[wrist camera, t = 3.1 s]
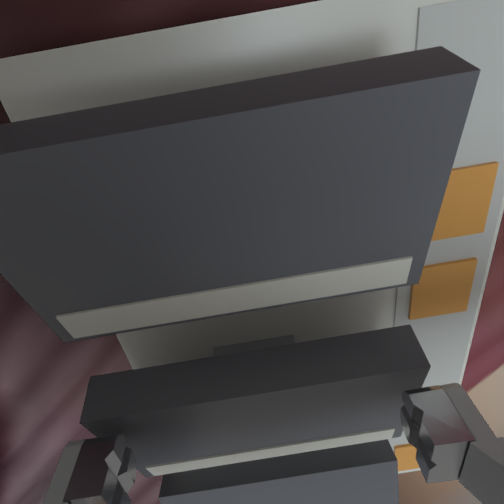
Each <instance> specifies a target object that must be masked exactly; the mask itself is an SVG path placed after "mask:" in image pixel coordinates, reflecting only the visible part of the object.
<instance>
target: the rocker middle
mask: <svg viewBox="0 0 504 504" xmlns="http://www.w3.org/2000/svg"><path fill="white" fill-rule="evenodd" d="M430 367H431V365H430V363H429V361H428V359H427V357H426V355H425V353H424V351H423V349H422V347H421V345H420V343H419V341H418V339H417V337H416V335H415V333H414V331H413V329H412V327H411V325H410V324H409V325H403V326H397V327H391V328H385V329H379V330H373V331H366V332H360V333H354V334H348V335H342V336H336V337H330V338H324V339H318V340H311V341H305V342H299V343H293V344H287V345H281V346H275V347H269V348H263V349H256V350H250V351H244V352H238V353H232V354H226V355H220V356H214V357H208V358H201V359H195V360H189V361H183V362H177V363H171V364H165V365H159V366H153V367H146V368H140V369H134V370H128V371H122V372H116V373H110V374H104V375H98V376H91V377H90V380H89V384H88V389H87V393H86V397H85V402H84V406H83V410H82V415H81V419H80V424H82V425H83V426H84V427H85V428H86V429H88V430H89V431H90V432H91V433H93V434H94V435H95V436H96V437H98V438H99V437H106V436H113V435H120V434H123V436H124V437H125V439H126V440H127V441H126V447H128V448H131V449H132V450H133V452H134V454H135V459H136V469H137V470H138V471H139V472H141V473H142V474H143V475H144V476H145V477H149V476H157V475H163V474H170V473H176V472H183V471H189V470H195V469H202V468H208V467H214V466H221V465H227V464H233V463H240V462H246V461H252V460H259V459H265V458H271V457H278V456H284V455H290V454H297V453H303V452H309V451H316V450H322V449H328V448H335V447H341V446H347V445H354V444H360V443H366V442H373V441H379V440H385V439H391V438H396V437H401V434H402V432H403V427H402V424H401V418H400V409H401V407H402V406H403V405H404V403H403V401H402V393H403V392H404V391H406V390H412V389H418V388H422V386H423V384H424V381H425V379H426V377H427V374H428V372H429V370H430Z"/></svg>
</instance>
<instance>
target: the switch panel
mask: <svg viewBox="0 0 504 504" xmlns="http://www.w3.org/2000/svg"><path fill="white" fill-rule="evenodd" d="M438 46H442V47H444V48H446V49H447V50H449V51H451V52H452V53H454V54H456V55H457V56H459V57H461V58H462V59H464V60H466V61H467V62H469V63H471V64H472V65H474V66H476V67H477V68H479V69H481V71H480V74H479V78H478V81H477V84H476V88H475V91H474V95H473V98H472V102H471V105H470V108H469V112H468V115H467V119H466V122H465V126H464V129H463V133H462V136H461V139H460V143H459V146H458V150H457V153H456V157H455V160H454V164H453V167H452V170H451V174H450V177H449V181H448V184H447V188H446V191H445V195H444V198H443V201H442V205H441V208H440V212H439V215H438V219H437V222H436V226H435V229H434V232H433V236H432V239H431V243H430V246H429V250H428V253H427V257H426V260H425V263H424V267H423V270H422V274H421V277H420V281H419V284H415V285H409V286H403V287H397V288H391V289H385V290H379V291H373V292H366V293H360V294H354V295H348V296H342V297H336V298H330V299H324V300H318V301H312V302H306V303H300V304H294V305H288V306H282V307H276V308H270V309H264V310H258V311H252V312H246V313H240V314H234V315H228V316H222V317H216V318H210V319H204V320H198V321H191V322H185V323H179V324H173V325H167V326H161V327H155V328H149V329H143V330H137V331H131V332H125V333H119V334H116V336H117V338H118V340H119V342H120V344H121V346H122V348H123V350H124V352H125V354H126V356H127V358H128V361H129V363H130V365H131V367H132V369H133V370H134V369H140V368H146V367H153V366H159V365H165V364H171V363H177V362H183V361H189V360H195V359H201V358H208V357H214V356H220V355H226V354H232V353H238V352H244V351H250V350H256V349H263V348H269V347H275V346H281V345H287V344H293V343H299V342H305V341H311V340H318V339H324V338H330V337H336V336H342V335H348V334H354V333H360V332H366V331H373V330H379V329H385V328H391V327H397V326H403V325H409V324H410V325H411V327H412V329H413V331H414V333H415V335H416V337H417V339H418V341H419V343H420V345H421V347H422V349H423V351H424V353H425V355H426V357H427V359H428V361H429V363H430V365H431V367H430V370H429V372H428V374H427V377H426V379H425V381H424V384H423V386H422V388H424V387H429V386H435V385H444V384H450V383H459V384H460V385H461V383H462V379H463V375H464V371H465V366H466V362H467V358H468V354H469V350H470V346H471V342H472V338H473V334H474V329H475V325H476V321H477V317H478V313H479V309H480V305H481V301H482V297H483V293H484V288H485V284H486V280H487V276H488V272H489V268H490V264H491V260H492V256H493V252H494V247H495V243H496V239H497V235H498V231H499V227H500V223H501V219H502V215H503V211H504V0H320V1H315V2H309V3H304V4H298V5H293V6H287V7H282V8H276V9H271V10H265V11H260V12H254V13H249V14H243V15H238V16H232V17H227V18H221V19H216V20H210V21H205V22H199V23H194V24H188V25H182V26H177V27H171V28H166V29H160V30H155V31H149V32H144V33H138V34H133V35H127V36H122V37H116V38H111V39H105V40H100V41H94V42H89V43H83V44H78V45H72V46H67V47H61V48H56V49H50V50H45V51H39V52H34V53H28V54H23V55H17V56H12V57H6V58H1V59H0V101H1V103H2V105H3V107H4V109H5V111H6V113H7V115H8V117H9V119H10V121H11V122H17V121H22V120H28V119H33V118H39V117H45V116H50V115H56V114H62V113H67V112H73V111H78V110H84V109H90V108H95V107H101V106H106V105H112V104H118V103H123V102H129V101H135V100H140V99H146V98H151V97H157V96H163V95H168V94H174V93H180V92H185V91H191V90H196V89H202V88H208V87H213V86H219V85H224V84H230V83H236V82H241V81H247V80H253V79H258V78H264V77H269V76H275V75H281V74H286V73H292V72H297V71H303V70H309V69H314V68H320V67H326V66H331V65H337V64H342V63H348V62H354V61H359V60H365V59H370V58H376V57H382V56H387V55H393V54H399V53H404V52H410V51H415V50H421V49H427V48H432V47H438ZM388 441H389V443H390V445H391V447H392V450H393V452H394V454H395V456H396V458H397V460H398V474H399V473H405V472H411V471H418V470H421V469H420V467H419V465H418V463H417V461H416V452H417V449H416V448H415V447H414V446H412V445H411V444H410V443H409V442H408V440H407V438H406V436H405V433H404V430H403V432H402V434H401V437H396V438H391V439H388Z"/></svg>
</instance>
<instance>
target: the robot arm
mask: <svg viewBox="0 0 504 504" xmlns="http://www.w3.org/2000/svg"><path fill="white" fill-rule="evenodd" d="M402 401H403V403H404V405H403V406H402V407H401V409H400V418H401V424H402V427H403V430H404V433H405V436H406V438H407V440H408V442H409V443H410V444H411V445H412V446H414V447H415V448H416V449H417V452H416V461H417V463H418V465H419V467H420V469H421V471H422V474H423V476H424V478H425V480H426V483H434V482H443V481H450V480H459V482H460V483H461V484H462V485H463V486H464V487H465V488H466V489H467V490H469V491H470V492H471V493H472V494H473V495H474V496H475V497H476V498H477V499H478V500H479V501H481V502H482V503H483V504H504V438H503V437H500V438H497V437H496V436H495V434H494V433H493V431H492V430H491V429H490V427H489V425H488V424H487V422H486V421H485V420H484V418H483V417H482V415H481V414H480V412H479V411H478V409H477V408H476V406H475V405H474V403H473V402H472V400H471V399H470V397H469V396H468V394H467V393H466V391H465V390H464V388H463V387H462V386H461V385H460V384H459V383H450V384H444V385H435V386H429V387H424V388H418V389H412V390H406V391H404V392H403V393H402ZM126 441H127V440H126V439H125V437H124V436H123V434H120V435H113V436H106V437H99V438H92V439H84V440H77V441H71V442H68V444H67V445H66V446H65V448H64V449H63V452H62V455H61V457H60V460H59V462H58V465H57V468H56V470H55V473H54V475H53V478H52V481H51V483H50V486H49V488H48V491H47V494H46V496H45V499H44V501H43V504H130V502H131V500H130V498H129V496H128V494H127V492H128V491H129V489H130V488H131V487H132V485H133V484H134V481H135V476H136V459H135V454H134V452H133V450H132V449H131V448H128V447H126Z"/></svg>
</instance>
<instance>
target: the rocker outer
mask: <svg viewBox="0 0 504 504" xmlns="http://www.w3.org/2000/svg"><path fill="white" fill-rule="evenodd" d="M159 500H160V503H161V504H399V487H398V460H397V458H396V456H395V454H394V452H393V450H392V447H391V445H390V443H389V441H388V439H385V440H379V441H373V442H366V443H360V444H354V445H347V446H341V447H335V448H328V449H322V450H316V451H309V452H303V453H297V454H290V455H284V456H278V457H271V458H265V459H259V460H252V461H246V462H240V463H233V464H227V465H221V466H214V467H208V468H202V469H195V470H189V471H183V472H176V473H170V474H164V475H163V479H162V484H161V489H160V494H159Z"/></svg>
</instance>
